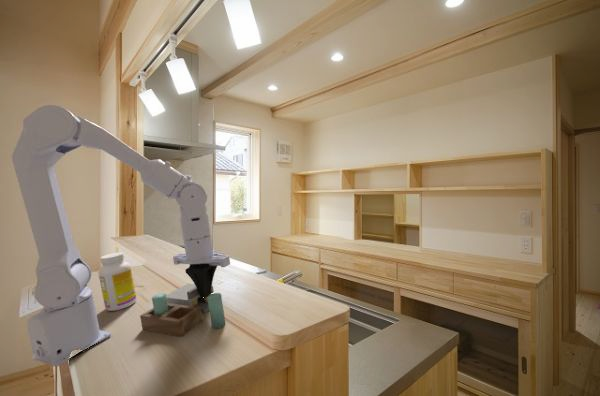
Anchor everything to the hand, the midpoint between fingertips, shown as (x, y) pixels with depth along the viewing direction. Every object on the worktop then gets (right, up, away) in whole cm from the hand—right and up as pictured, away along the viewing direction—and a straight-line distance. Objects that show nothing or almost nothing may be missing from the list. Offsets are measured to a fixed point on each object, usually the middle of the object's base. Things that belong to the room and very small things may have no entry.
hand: (206, 295), depth 64 cm
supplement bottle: (-23, -5, +6) cm, 24 cm away
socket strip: (-5, -4, -6) cm, 9 cm away
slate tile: (-1, -3, +1) cm, 3 cm away
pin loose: (+5, -3, -8) cm, 10 cm away
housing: (-4, -3, +2) cm, 6 cm away
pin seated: (-7, -4, -5) cm, 10 cm away
